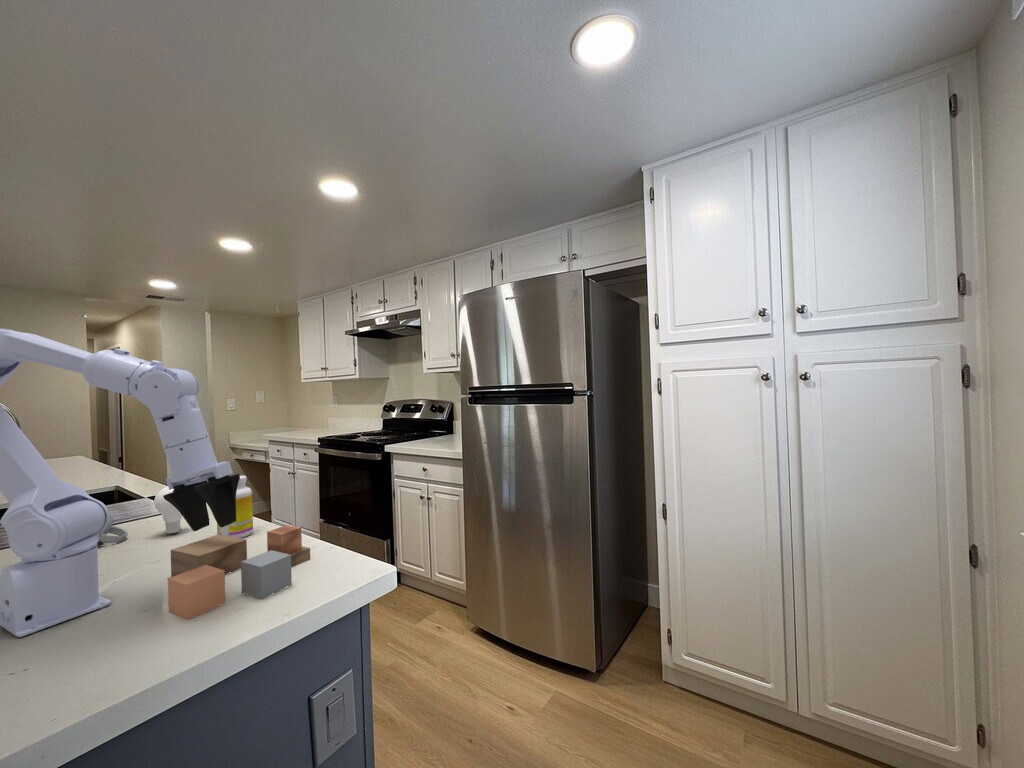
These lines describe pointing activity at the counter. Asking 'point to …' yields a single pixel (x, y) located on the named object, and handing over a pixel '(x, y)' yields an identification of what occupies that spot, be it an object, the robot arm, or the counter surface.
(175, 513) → the lightbulb
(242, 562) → the grey block
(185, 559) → the walnut base
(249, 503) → the supplement bottle
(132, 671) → the counter surface
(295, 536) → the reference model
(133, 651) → the counter surface
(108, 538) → the ceramic mug
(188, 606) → the terracotta block
